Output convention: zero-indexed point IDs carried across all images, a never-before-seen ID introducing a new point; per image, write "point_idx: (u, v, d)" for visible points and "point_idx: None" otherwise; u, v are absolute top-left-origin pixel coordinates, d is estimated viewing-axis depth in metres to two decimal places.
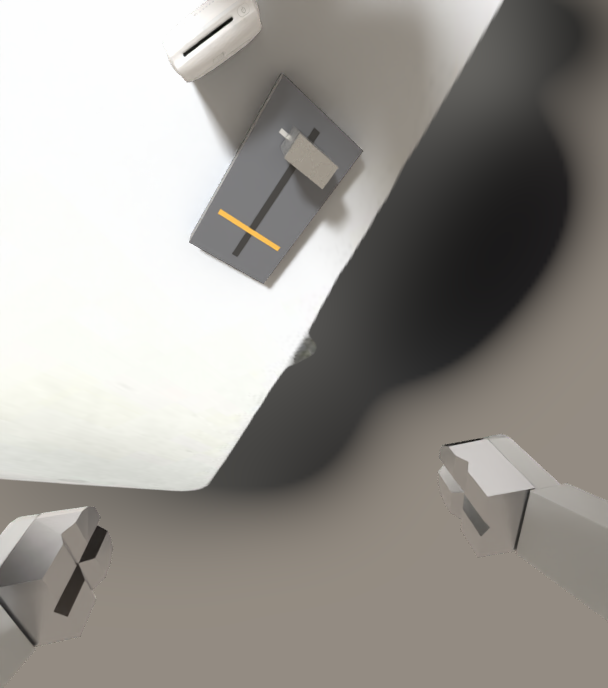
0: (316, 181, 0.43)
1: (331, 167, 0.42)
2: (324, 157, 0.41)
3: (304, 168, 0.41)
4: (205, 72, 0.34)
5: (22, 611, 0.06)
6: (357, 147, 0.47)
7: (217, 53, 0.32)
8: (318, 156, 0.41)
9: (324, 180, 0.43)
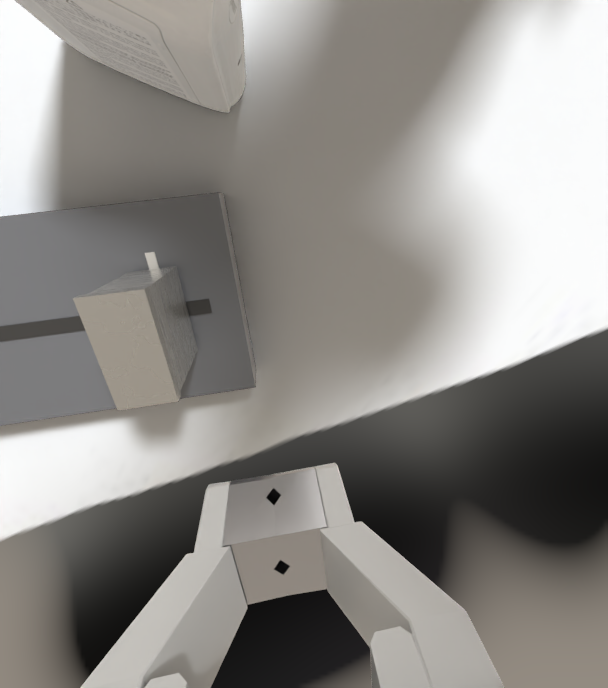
0: (115, 389, 0.17)
1: (164, 391, 0.17)
2: (163, 366, 0.17)
3: (106, 350, 0.16)
4: None
5: (248, 568, 0.06)
6: (251, 376, 0.26)
7: None
8: (152, 355, 0.17)
9: (133, 400, 0.17)
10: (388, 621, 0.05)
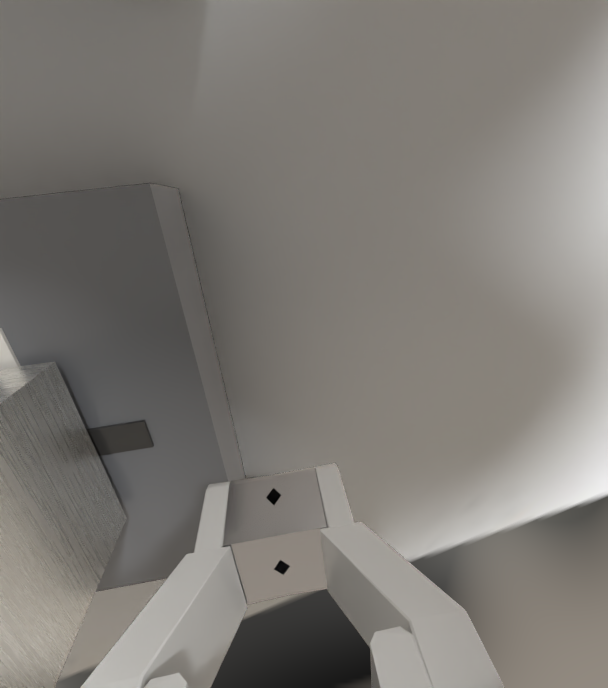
0: None
1: None
2: None
3: None
4: None
5: (248, 568, 0.06)
6: None
7: None
8: None
9: None
10: (387, 621, 0.05)
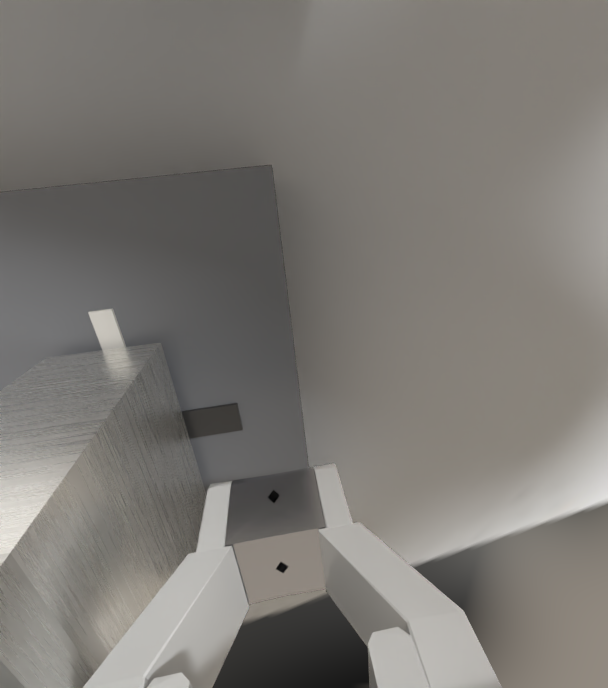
0: None
1: None
2: None
3: None
4: None
5: (250, 567, 0.06)
6: None
7: None
8: None
9: None
10: (386, 621, 0.05)
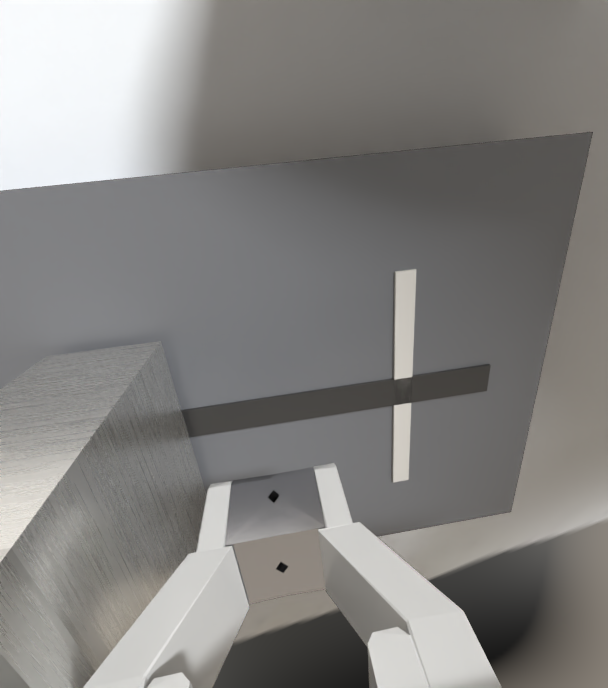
0: None
1: None
2: None
3: None
4: None
5: (250, 567, 0.06)
6: (510, 495, 0.14)
7: None
8: None
9: None
10: (385, 621, 0.05)
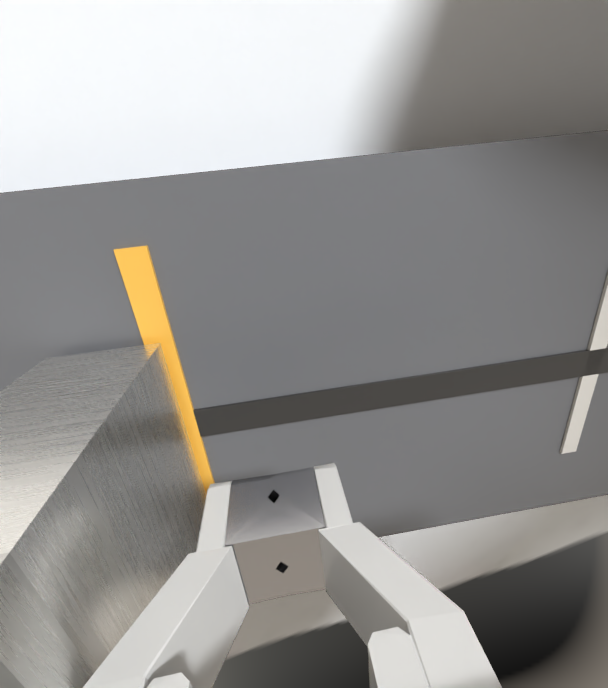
0: None
1: None
2: None
3: None
4: None
5: (250, 567, 0.06)
6: None
7: None
8: None
9: None
10: (386, 621, 0.05)
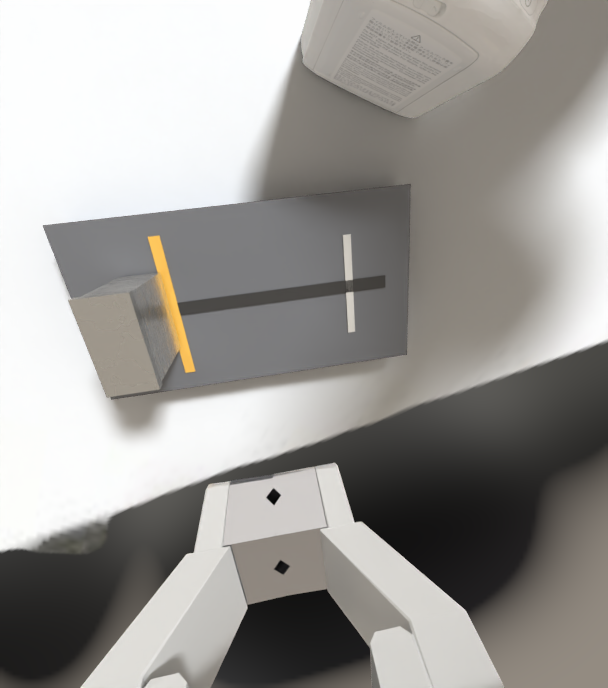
0: (104, 378, 0.20)
1: (147, 380, 0.20)
2: (146, 358, 0.20)
3: (96, 344, 0.19)
4: (379, 1, 0.14)
5: (248, 568, 0.06)
6: (405, 345, 0.30)
7: None
8: (136, 348, 0.19)
9: (120, 388, 0.20)
10: (388, 621, 0.05)
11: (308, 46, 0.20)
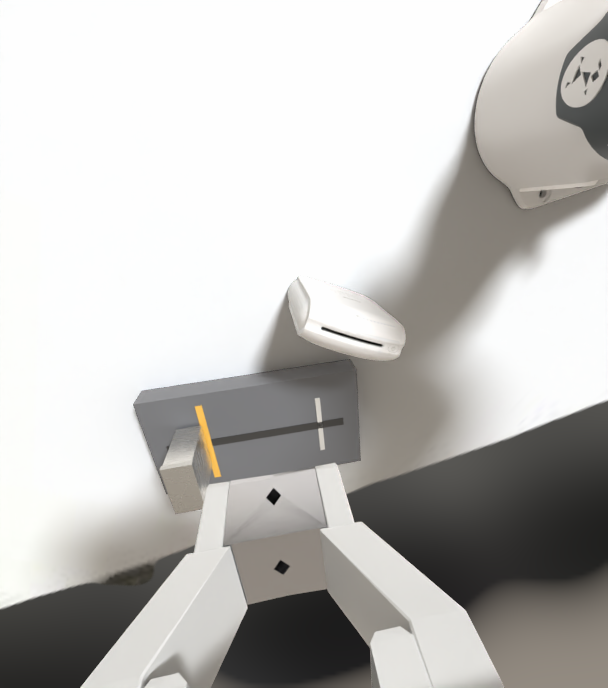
0: (175, 504, 0.35)
1: (199, 504, 0.35)
2: (198, 494, 0.35)
3: (172, 489, 0.34)
4: (321, 346, 0.29)
5: (248, 568, 0.06)
6: (359, 455, 0.45)
7: (348, 351, 0.28)
8: (194, 490, 0.35)
9: (183, 509, 0.35)
10: (388, 621, 0.05)
11: (291, 312, 0.35)
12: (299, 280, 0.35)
